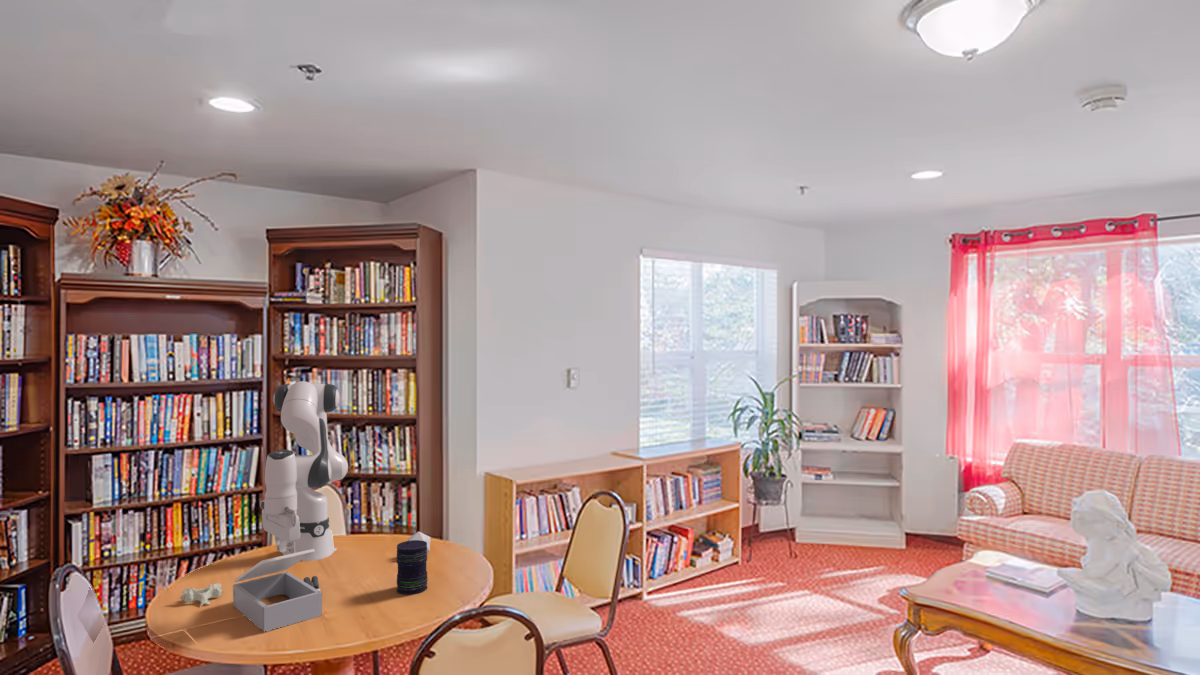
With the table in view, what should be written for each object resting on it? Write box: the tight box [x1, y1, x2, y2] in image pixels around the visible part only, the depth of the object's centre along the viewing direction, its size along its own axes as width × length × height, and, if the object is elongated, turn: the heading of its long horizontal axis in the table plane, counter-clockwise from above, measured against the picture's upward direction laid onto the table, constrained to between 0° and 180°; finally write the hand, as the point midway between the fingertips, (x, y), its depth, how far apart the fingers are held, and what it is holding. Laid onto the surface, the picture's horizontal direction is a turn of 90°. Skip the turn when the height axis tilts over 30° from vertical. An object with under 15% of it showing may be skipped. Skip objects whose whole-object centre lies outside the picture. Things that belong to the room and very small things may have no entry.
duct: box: [232, 571, 323, 633], centre depth 207 cm, size 26×16×7 cm, turn 46°
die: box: [407, 531, 432, 553], centre depth 257 cm, size 8×9×10 cm
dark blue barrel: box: [396, 540, 428, 596], centre depth 224 cm, size 10×10×15 cm
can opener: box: [303, 575, 322, 592], centre depth 221 cm, size 19×5×6 cm, turn 25°
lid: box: [234, 549, 315, 583], centre depth 208 cm, size 26×15×1 cm, turn 46°
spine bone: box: [179, 582, 224, 607], centre depth 214 cm, size 12×10×5 cm
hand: (281, 550), depth 204 cm, fingers closed
